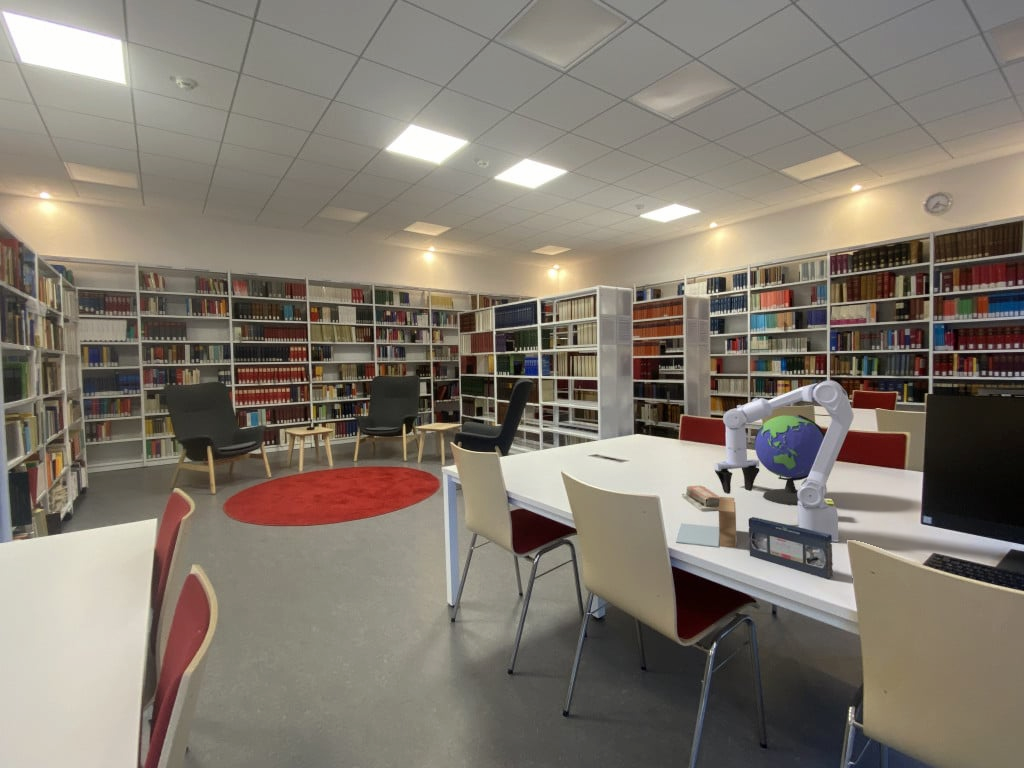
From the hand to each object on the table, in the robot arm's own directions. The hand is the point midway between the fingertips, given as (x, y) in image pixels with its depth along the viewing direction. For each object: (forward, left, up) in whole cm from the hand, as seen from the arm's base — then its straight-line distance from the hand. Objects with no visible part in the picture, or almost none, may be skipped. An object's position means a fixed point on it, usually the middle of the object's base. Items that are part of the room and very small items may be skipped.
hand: (737, 491), depth 146 cm
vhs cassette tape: (-11, +28, -11) cm, 32 cm away
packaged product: (+11, -20, -11) cm, 25 cm away
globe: (-17, -34, -10) cm, 39 cm away
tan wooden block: (+3, +13, -10) cm, 17 cm away
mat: (+11, +13, -10) cm, 20 cm away
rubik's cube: (-24, -14, -10) cm, 30 cm away
